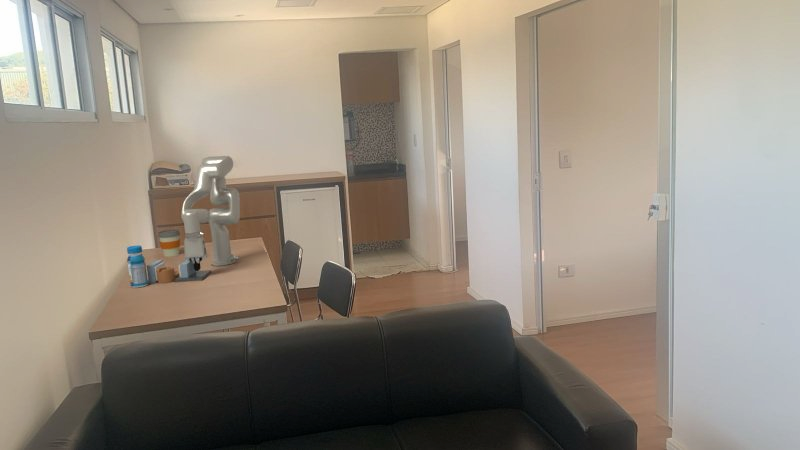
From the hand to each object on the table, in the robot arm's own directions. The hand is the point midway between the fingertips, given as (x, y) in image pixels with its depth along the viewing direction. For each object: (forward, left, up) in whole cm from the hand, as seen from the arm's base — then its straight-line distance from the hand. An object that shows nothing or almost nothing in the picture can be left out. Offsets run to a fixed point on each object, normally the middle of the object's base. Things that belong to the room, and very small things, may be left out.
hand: (197, 270), depth 320 cm
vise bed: (+3, 0, -4) cm, 4 cm away
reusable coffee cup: (+37, -65, -4) cm, 75 cm away
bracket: (+14, 0, -4) cm, 15 cm away
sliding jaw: (+5, 0, -2) cm, 5 cm away
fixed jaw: (+21, 0, -4) cm, 22 cm away
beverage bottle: (+26, +11, -4) cm, 29 cm away
